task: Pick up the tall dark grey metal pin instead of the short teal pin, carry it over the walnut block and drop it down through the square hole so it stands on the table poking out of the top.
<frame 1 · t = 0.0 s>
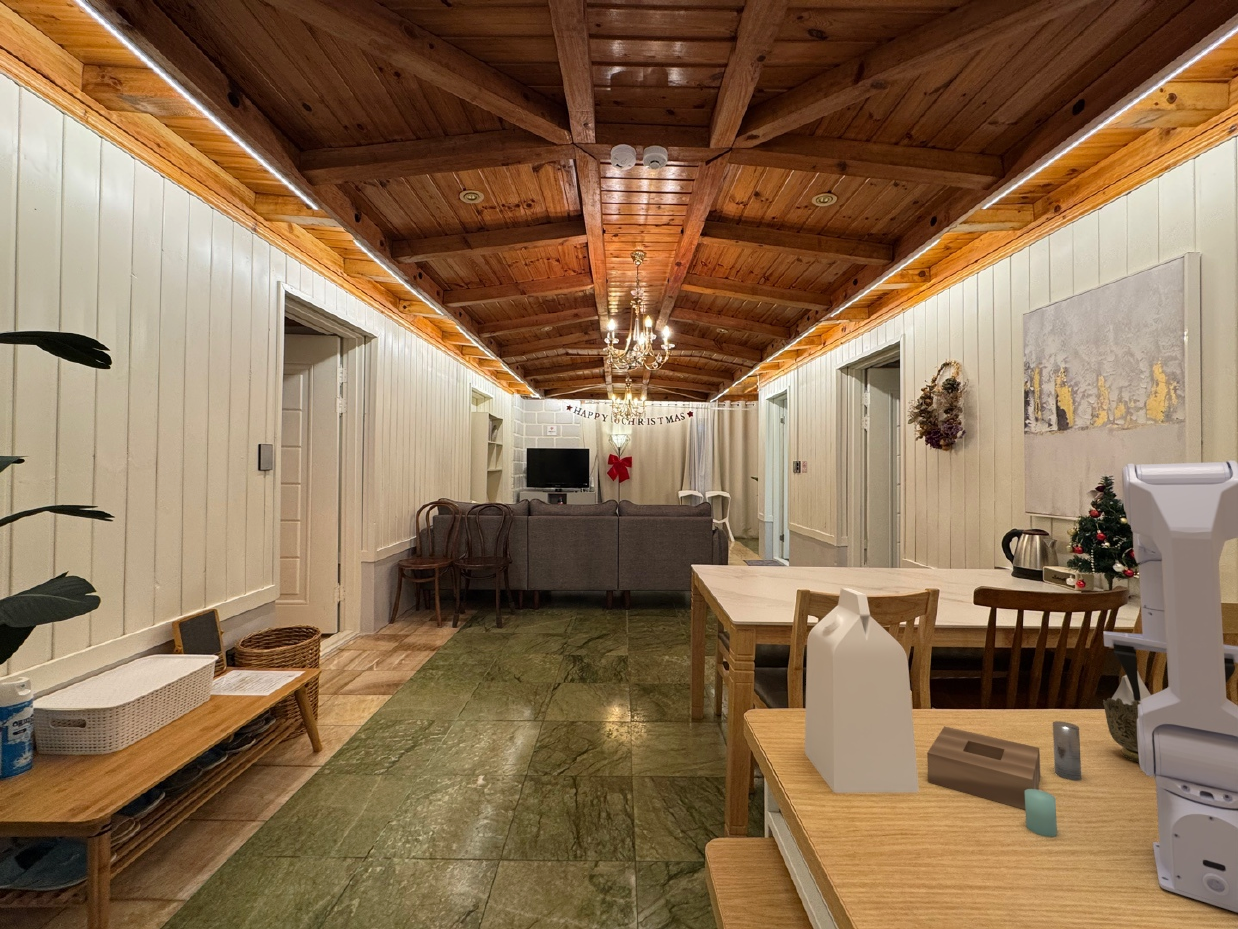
hand: (1173, 705, 81), 10 cm above the table, tool pointing down, fingers open, 7 cm apart
cup: (1138, 761, 86), on the table
hole block: (984, 779, 80), on the table
tall pin: (1068, 775, 82), on the table
short pin: (1041, 829, 68), on the table
milk: (857, 773, 83), on the table
small white carton: (1133, 736, 96), on the table
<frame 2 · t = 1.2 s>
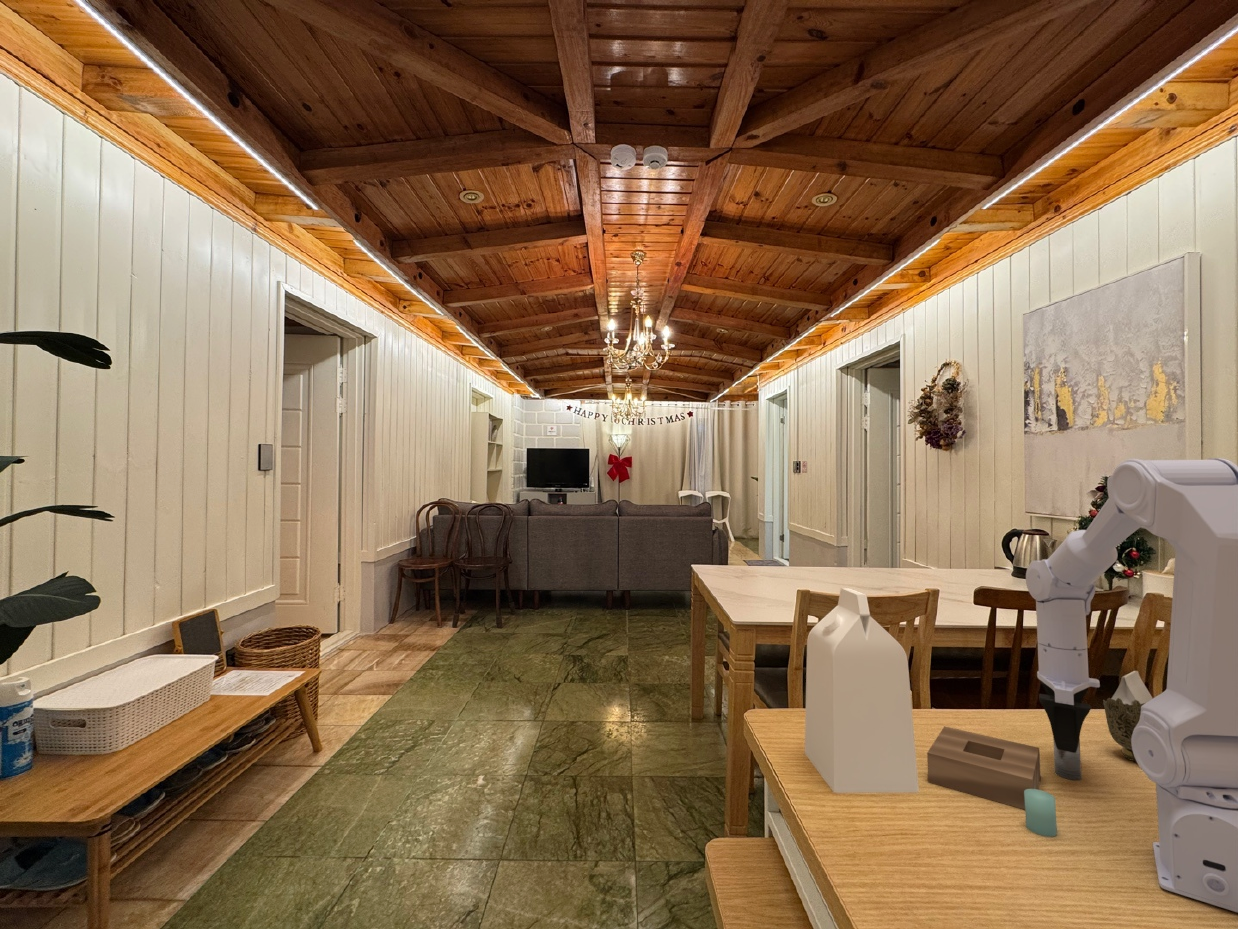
hand: (1066, 740, 82), 5 cm above the table, tool pointing down, fingers open, 7 cm apart
nothing on the table moved.
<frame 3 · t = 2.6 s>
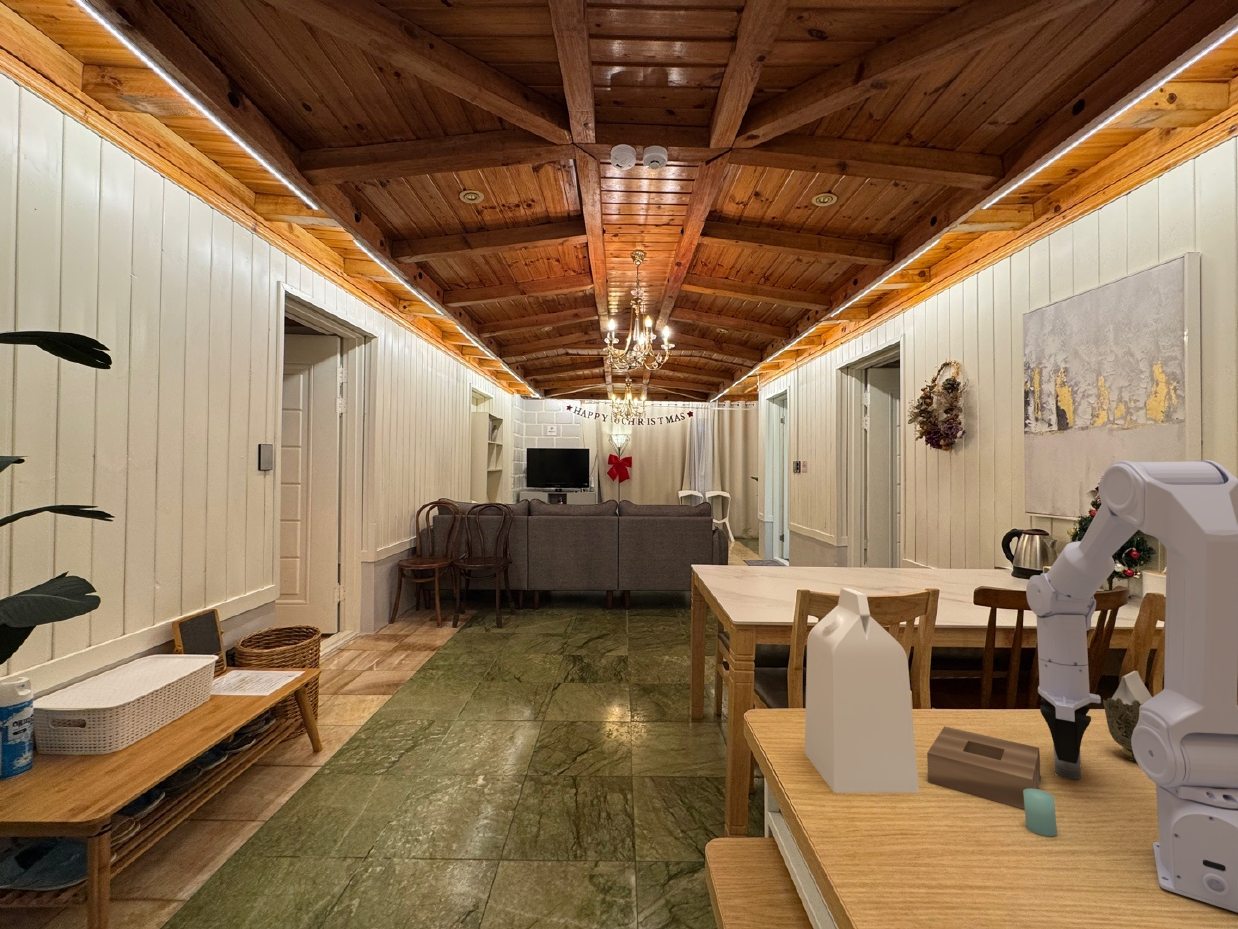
hand: (1067, 756, 82), 3 cm above the table, tool pointing down, fingers closed on tall pin, 3 cm apart
tall pin: (1068, 775, 82), on the table, touching gripper
everything else where it was.
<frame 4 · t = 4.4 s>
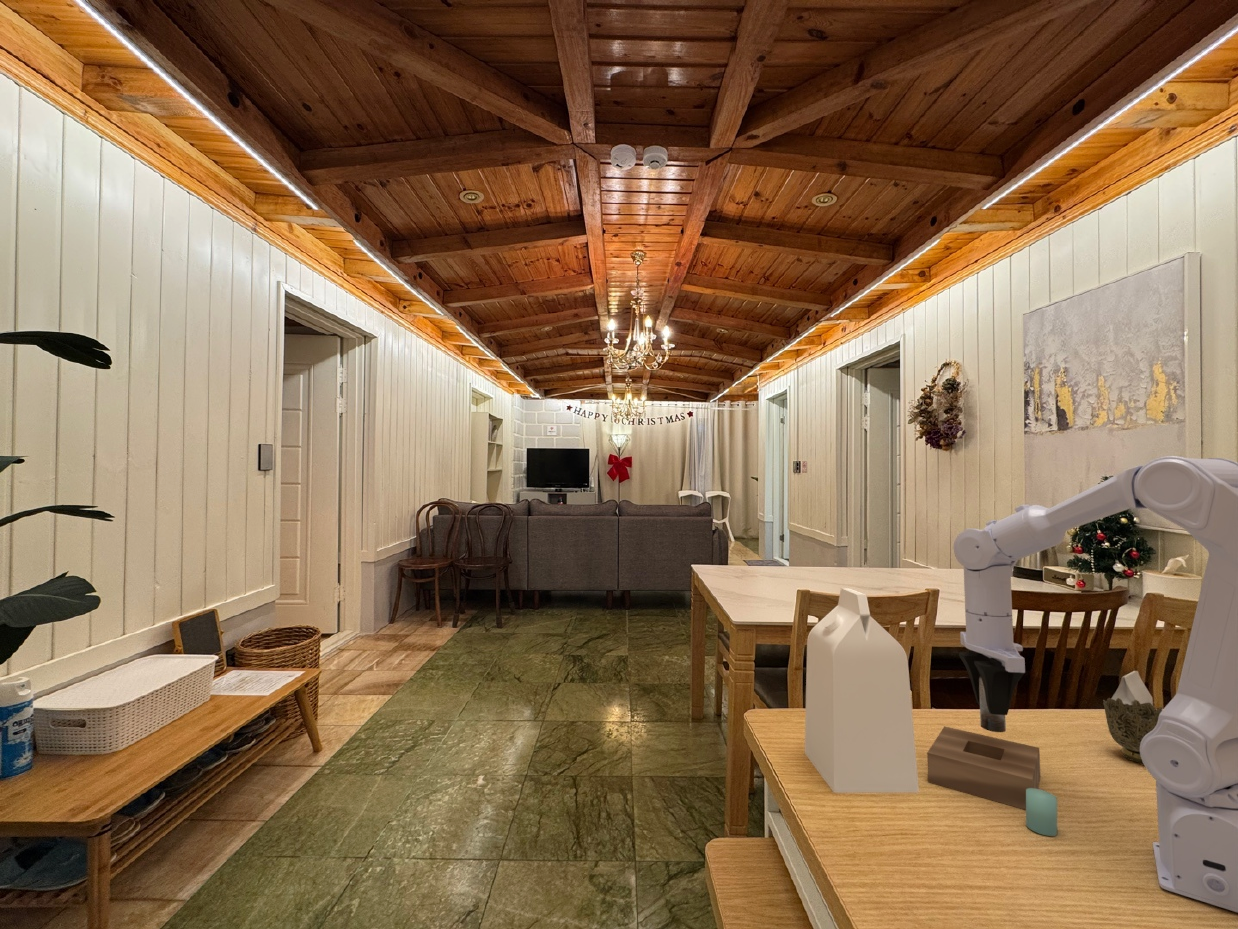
hand: (992, 709, 81), 10 cm above the table, tool pointing down, fingers closed on tall pin, 3 cm apart
tall pin: (993, 728, 81), point 7 cm above the table, touching gripper
everything else where it was.
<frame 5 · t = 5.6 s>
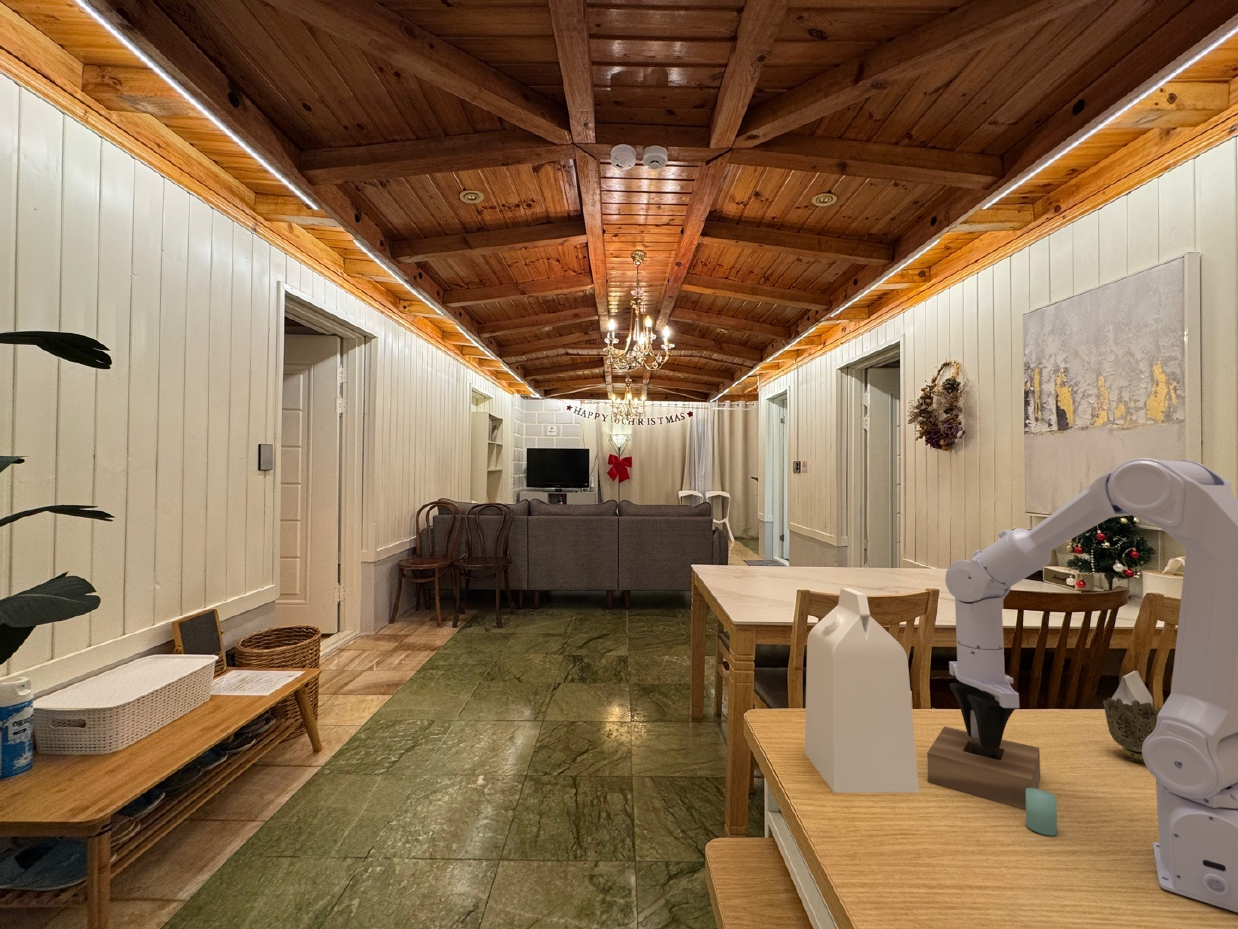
hand: (983, 742, 81), 5 cm above the table, tool pointing down, fingers closed on tall pin, 3 cm apart
tall pin: (984, 761, 81), point 3 cm above the table, touching gripper
everything else where it was.
when the fingers open (5 cm above the table, at t = 6.3 s): tall pin drops 2 cm, resting in hole block.
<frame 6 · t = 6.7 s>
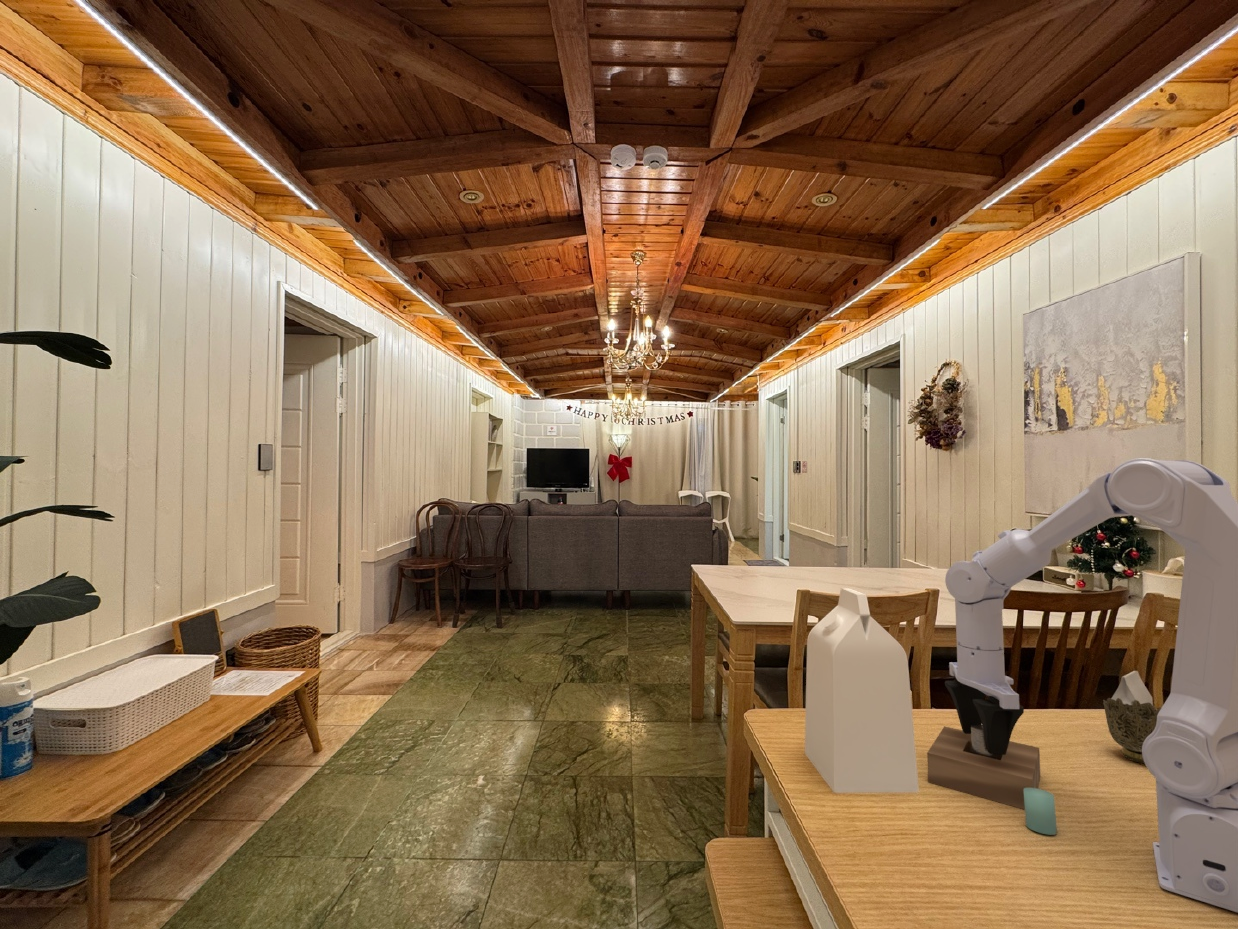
hand: (983, 743, 81), 5 cm above the table, tool pointing down, fingers open, 6 cm apart
tall pin: (985, 779, 80), resting in hole block
everything else where it was.
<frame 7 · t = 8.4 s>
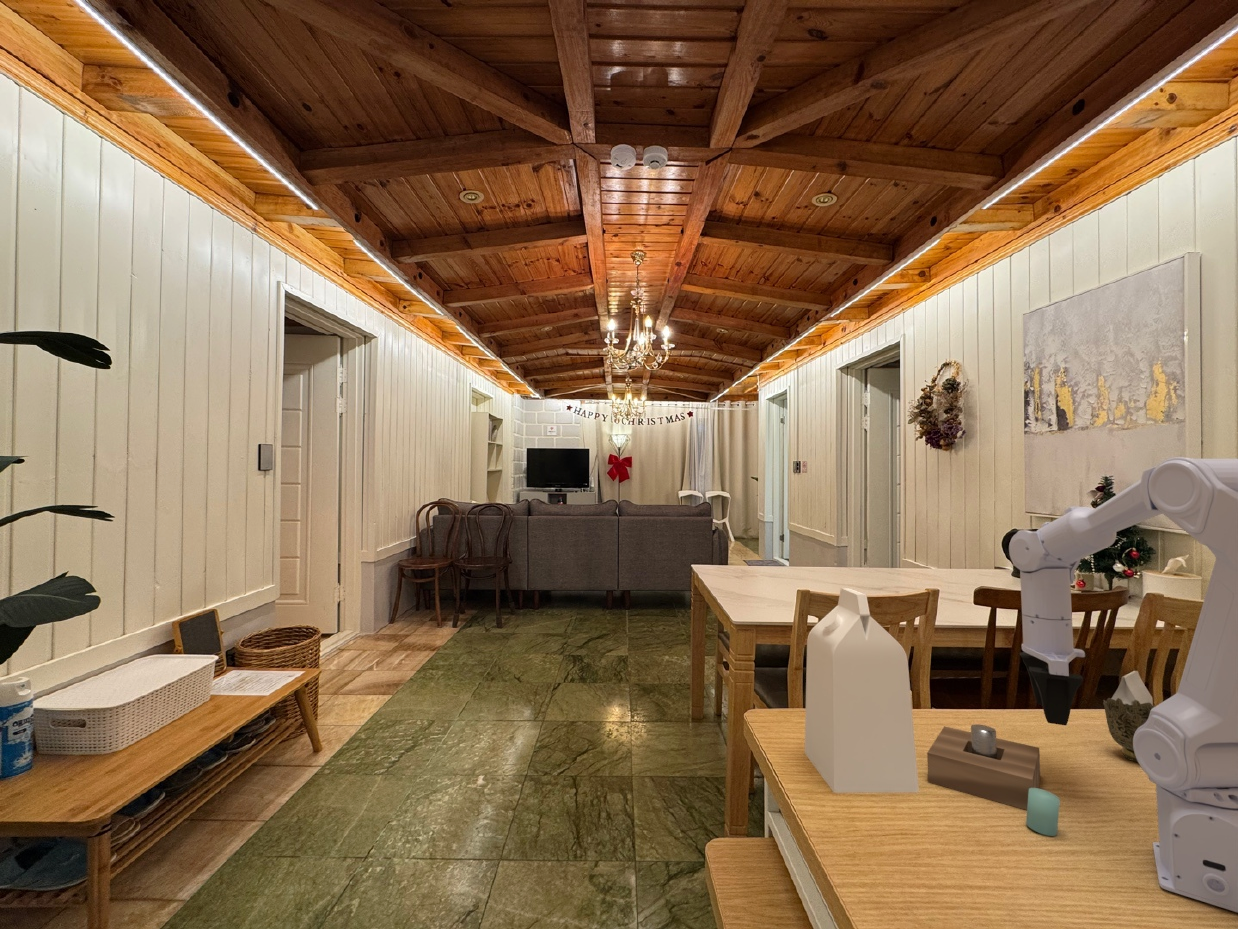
hand: (1051, 714, 80), 9 cm above the table, tool pointing down, fingers open, 7 cm apart
nothing on the table moved.
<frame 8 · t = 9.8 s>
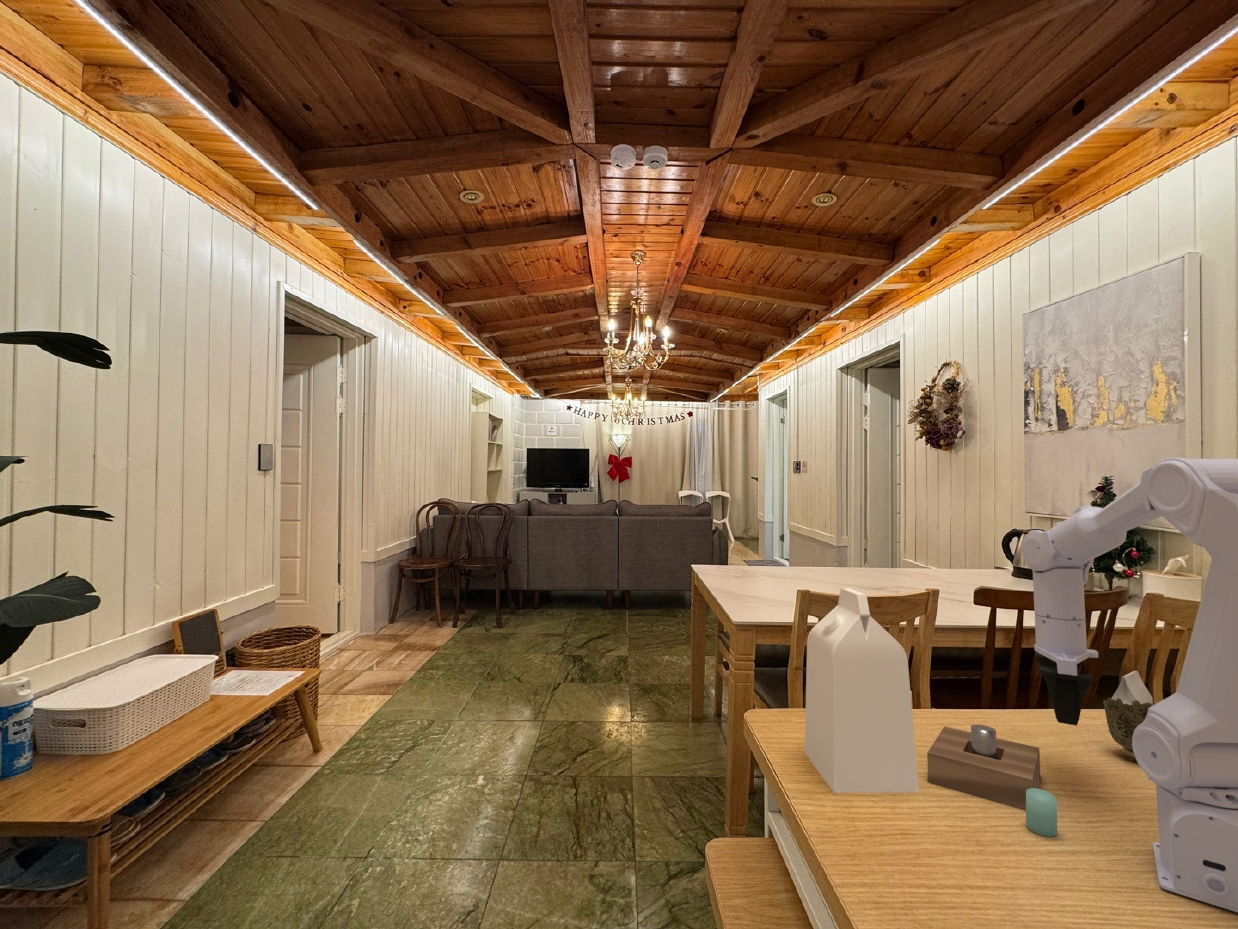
hand: (1064, 714, 80), 9 cm above the table, tool pointing down, fingers open, 7 cm apart
nothing on the table moved.
at the end: tall pin 0.0 cm off-centre on the hole block, point 0.0 cm above the hole block's base; tall pin tilted 0°; short pin moved 0.1 cm from its start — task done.
